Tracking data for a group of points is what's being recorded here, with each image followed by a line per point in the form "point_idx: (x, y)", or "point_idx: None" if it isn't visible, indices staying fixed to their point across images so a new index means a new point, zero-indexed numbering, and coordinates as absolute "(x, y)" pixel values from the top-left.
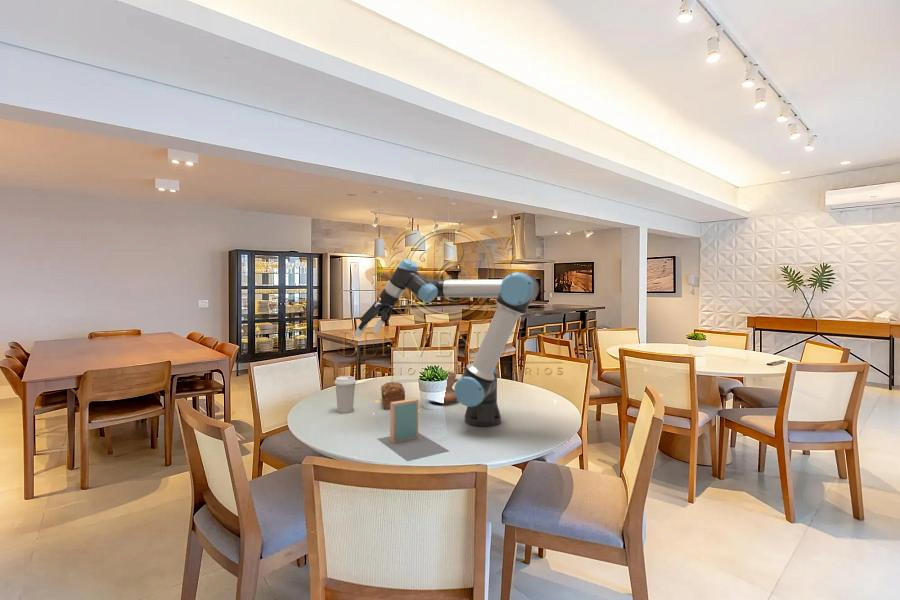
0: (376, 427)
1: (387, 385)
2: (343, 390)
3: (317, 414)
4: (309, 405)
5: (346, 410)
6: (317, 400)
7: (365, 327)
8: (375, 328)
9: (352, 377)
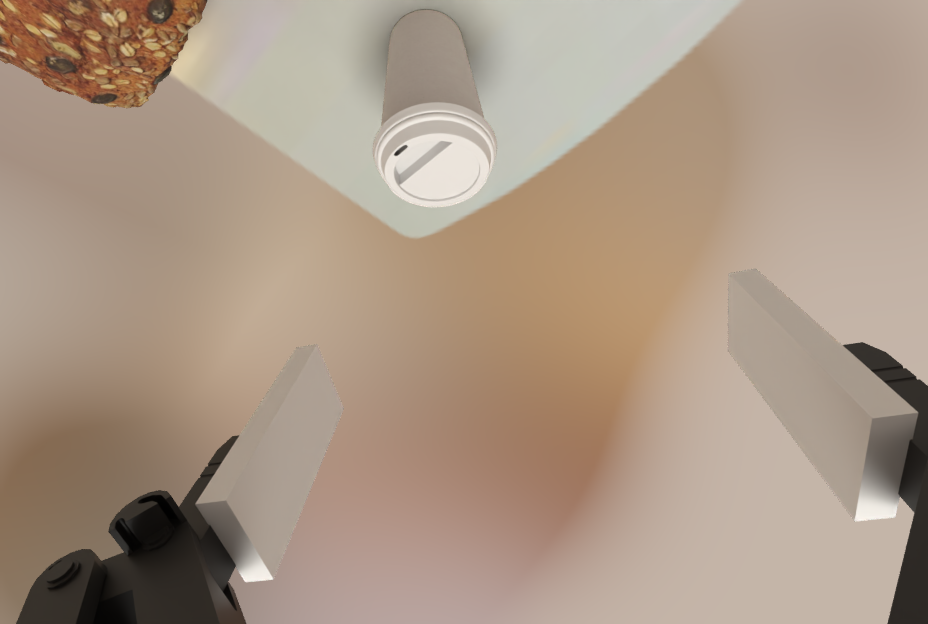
0: None
1: (142, 24)
2: (475, 101)
3: (532, 96)
4: None
5: (447, 23)
6: (397, 222)
7: (845, 369)
8: (317, 421)
9: (398, 158)
